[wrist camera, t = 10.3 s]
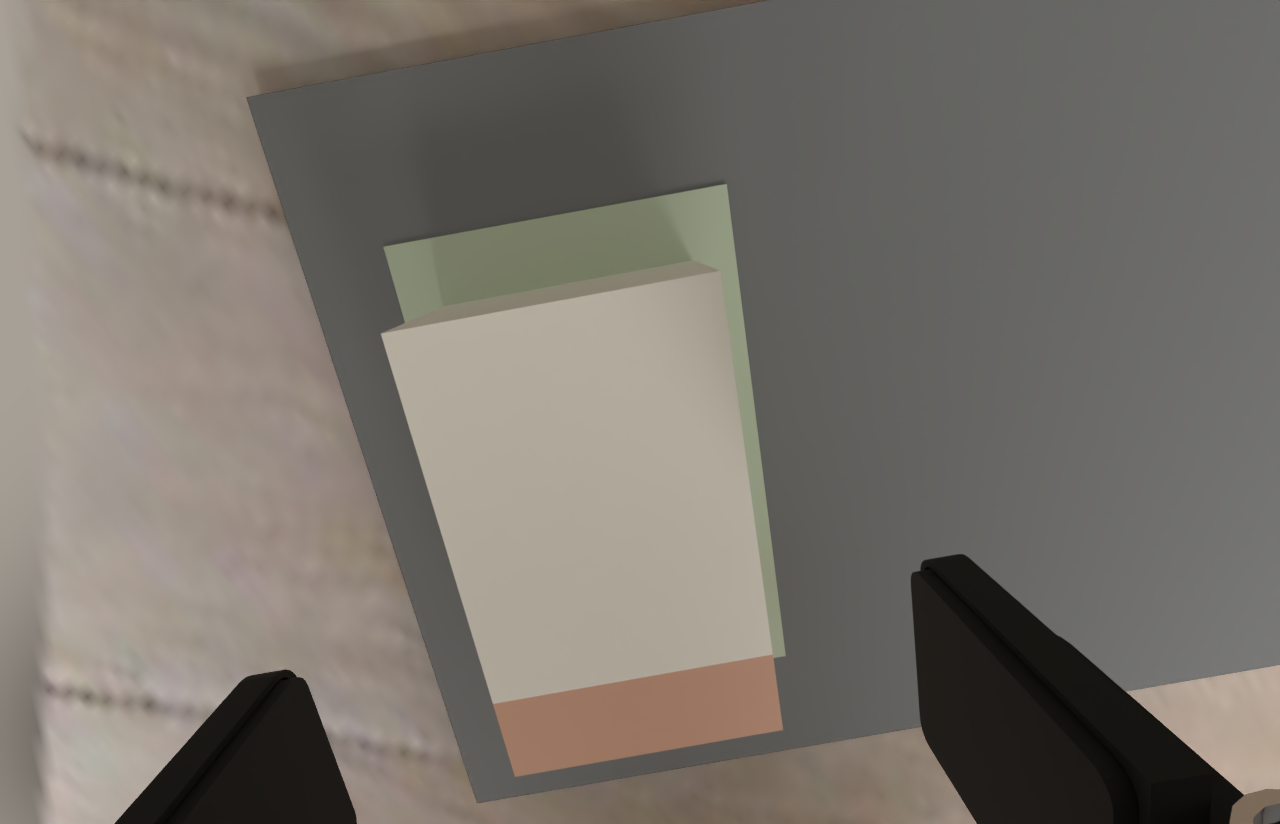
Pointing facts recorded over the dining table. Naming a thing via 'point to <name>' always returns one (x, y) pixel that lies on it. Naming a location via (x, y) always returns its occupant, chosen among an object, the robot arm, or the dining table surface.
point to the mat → (864, 310)
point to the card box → (596, 511)
